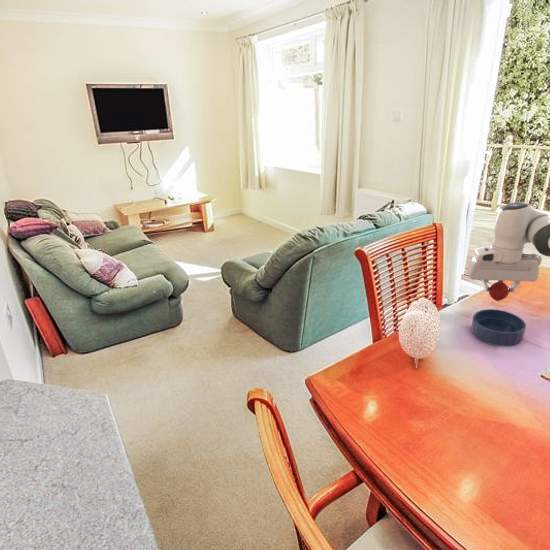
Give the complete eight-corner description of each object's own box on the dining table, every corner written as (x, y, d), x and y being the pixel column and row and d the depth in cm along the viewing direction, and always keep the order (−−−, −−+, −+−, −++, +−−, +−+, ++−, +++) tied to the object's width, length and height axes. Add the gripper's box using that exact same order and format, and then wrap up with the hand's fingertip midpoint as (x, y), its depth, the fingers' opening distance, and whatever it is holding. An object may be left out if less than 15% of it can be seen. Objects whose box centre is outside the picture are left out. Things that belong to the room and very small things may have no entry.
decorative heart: (430, 381, 101) (436, 327, 94) (390, 370, 106) (393, 318, 99) (440, 345, 115) (446, 296, 108) (405, 337, 120) (408, 290, 113)
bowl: (514, 323, 123) (517, 310, 121) (529, 349, 110) (532, 334, 108) (467, 321, 126) (469, 308, 124) (476, 345, 114) (478, 331, 112)
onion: (504, 306, 124) (508, 285, 121) (485, 302, 128) (488, 281, 125) (509, 299, 128) (512, 278, 125) (490, 295, 132) (493, 274, 129)
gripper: (539, 250, 121) (530, 288, 127) (469, 249, 126) (464, 285, 132) (546, 257, 115) (537, 296, 121) (473, 255, 121) (468, 293, 126)
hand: (498, 291), depth 127 cm, fingers closed on onion, 6 cm apart
